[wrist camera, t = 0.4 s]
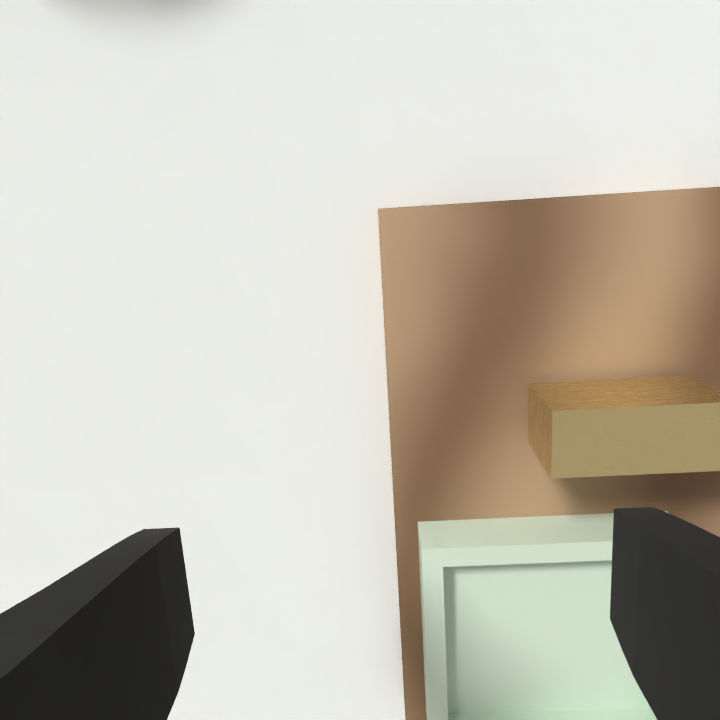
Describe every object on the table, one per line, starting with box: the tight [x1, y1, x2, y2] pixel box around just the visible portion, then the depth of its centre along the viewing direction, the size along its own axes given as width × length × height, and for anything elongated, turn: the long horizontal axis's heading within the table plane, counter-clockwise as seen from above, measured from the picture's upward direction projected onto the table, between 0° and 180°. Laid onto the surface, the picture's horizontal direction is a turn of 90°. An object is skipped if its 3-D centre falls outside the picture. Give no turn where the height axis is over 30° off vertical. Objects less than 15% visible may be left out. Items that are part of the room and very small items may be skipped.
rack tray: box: [418, 511, 668, 720], centre depth 19 cm, size 8×7×2 cm
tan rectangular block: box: [528, 375, 720, 479], centre depth 17 cm, size 4×2×2 cm, turn 94°
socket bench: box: [378, 187, 720, 720], centre depth 18 cm, size 18×17×3 cm
